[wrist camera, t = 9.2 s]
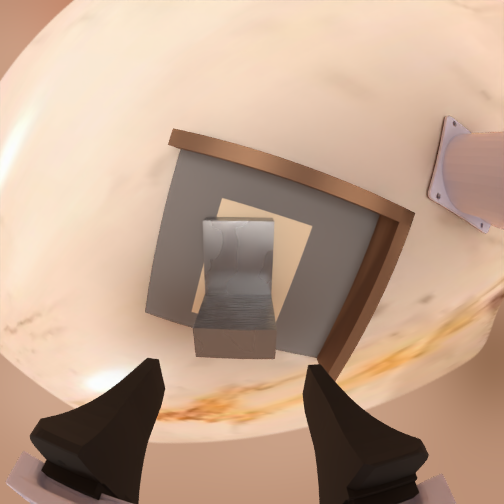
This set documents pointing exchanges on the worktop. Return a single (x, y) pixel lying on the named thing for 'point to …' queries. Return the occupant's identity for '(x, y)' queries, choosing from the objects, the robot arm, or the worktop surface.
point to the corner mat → (284, 250)
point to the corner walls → (376, 257)
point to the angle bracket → (237, 290)
